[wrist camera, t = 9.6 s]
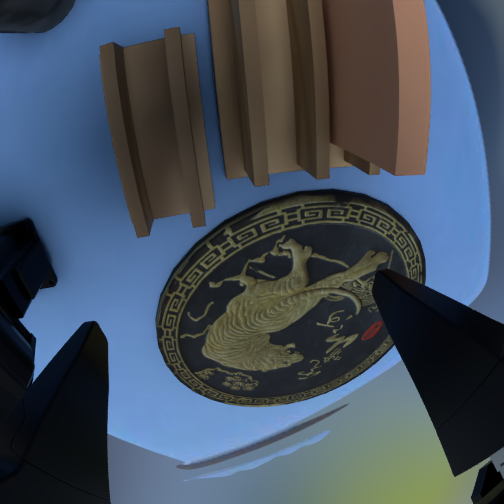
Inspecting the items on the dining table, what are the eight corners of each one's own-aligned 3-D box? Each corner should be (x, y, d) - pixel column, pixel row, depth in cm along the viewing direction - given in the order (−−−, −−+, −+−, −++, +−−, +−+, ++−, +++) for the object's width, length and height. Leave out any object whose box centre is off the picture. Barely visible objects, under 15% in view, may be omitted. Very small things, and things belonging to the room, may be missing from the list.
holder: (134, 218, 20) (125, 240, 17) (103, 56, 13) (86, 50, 10) (214, 203, 20) (218, 223, 18) (194, 35, 14) (194, 24, 11)
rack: (225, 175, 19) (233, 198, 16) (205, -16, 12) (210, -43, 8) (395, 160, 21) (430, 178, 17) (391, 2, 13) (428, -6, 10)
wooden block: (313, 135, 18) (395, 176, 10) (305, 10, 13) (387, -30, 5) (337, 134, 18) (425, 174, 11) (331, 13, 13) (420, -17, 6)
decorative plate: (457, 283, 30) (306, 417, 40) (448, 275, 31) (302, 408, 41) (296, 110, 17) (113, 374, 26) (287, 108, 18) (115, 361, 28)
